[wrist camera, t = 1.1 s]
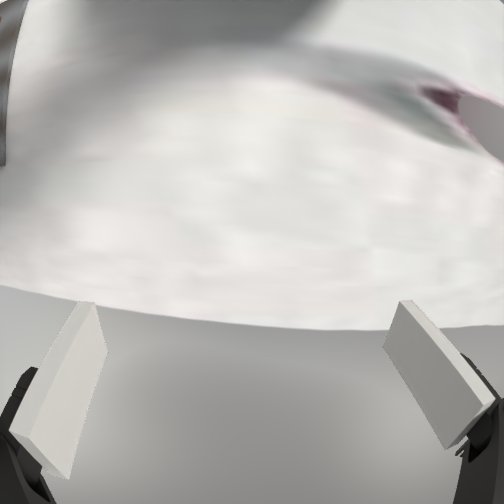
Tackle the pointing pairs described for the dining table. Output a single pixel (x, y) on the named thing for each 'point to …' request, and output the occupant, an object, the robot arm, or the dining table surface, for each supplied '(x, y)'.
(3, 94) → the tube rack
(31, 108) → the dining table surface
